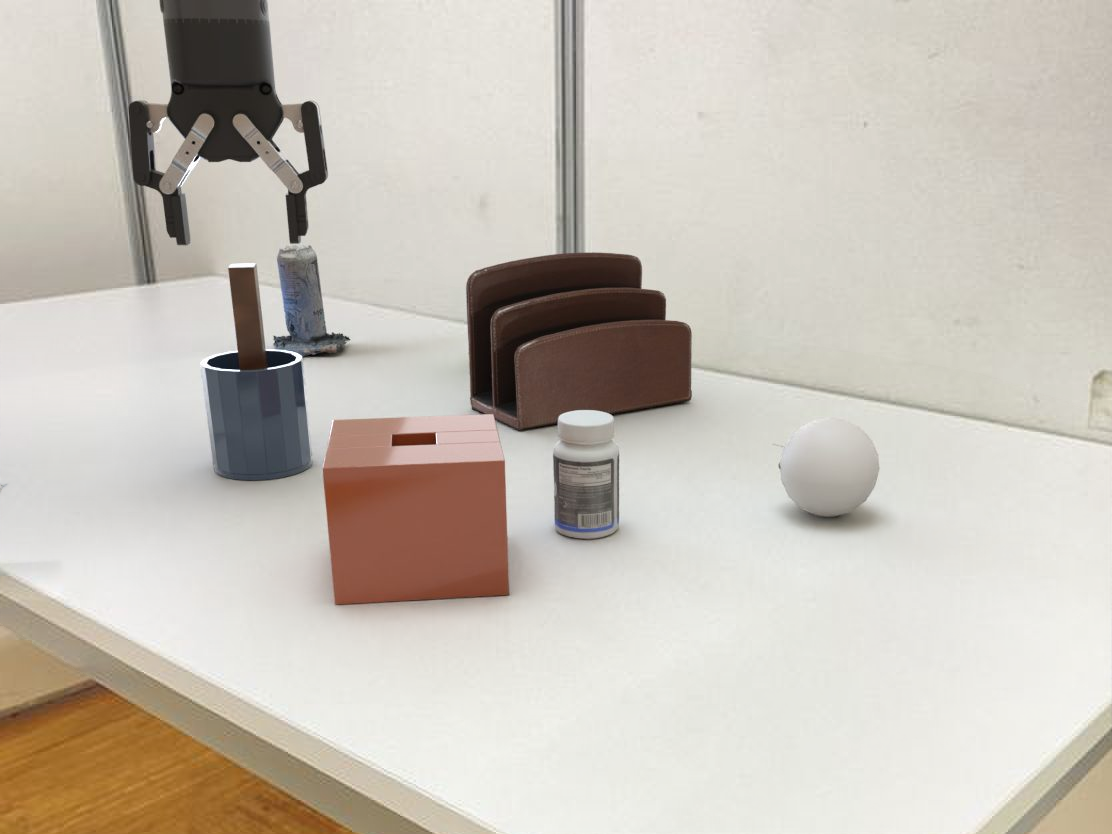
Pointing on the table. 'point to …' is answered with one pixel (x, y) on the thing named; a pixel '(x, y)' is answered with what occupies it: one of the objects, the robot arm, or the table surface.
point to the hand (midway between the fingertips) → (239, 243)
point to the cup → (257, 416)
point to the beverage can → (303, 304)
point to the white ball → (829, 467)
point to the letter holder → (571, 339)
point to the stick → (247, 316)
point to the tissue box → (416, 508)
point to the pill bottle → (586, 475)
